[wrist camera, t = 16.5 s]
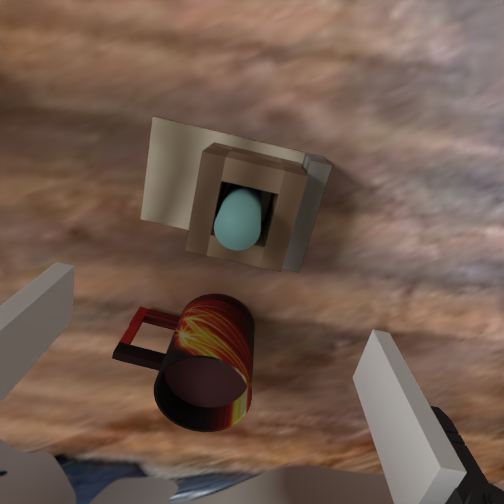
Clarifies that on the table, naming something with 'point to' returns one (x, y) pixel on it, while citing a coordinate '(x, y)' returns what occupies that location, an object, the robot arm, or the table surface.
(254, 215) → the dowel
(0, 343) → the robot arm
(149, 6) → the table surface
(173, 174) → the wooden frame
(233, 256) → the block
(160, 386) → the mug
